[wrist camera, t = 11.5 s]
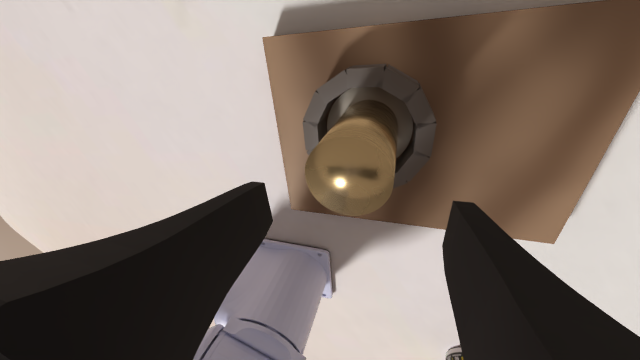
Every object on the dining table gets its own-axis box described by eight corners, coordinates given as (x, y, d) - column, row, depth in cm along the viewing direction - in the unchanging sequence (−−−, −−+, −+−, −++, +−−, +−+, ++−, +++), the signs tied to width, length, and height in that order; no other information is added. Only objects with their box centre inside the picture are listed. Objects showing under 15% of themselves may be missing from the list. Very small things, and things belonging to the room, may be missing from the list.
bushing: (341, 155, 18) (310, 211, 12) (337, 101, 16) (298, 136, 10) (397, 157, 17) (392, 220, 11) (400, 98, 15) (396, 136, 9)
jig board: (297, 200, 24) (282, 222, 21) (272, 37, 17) (245, 37, 14) (543, 229, 18) (570, 266, 15) (662, -5, 11) (754, -20, 8)
